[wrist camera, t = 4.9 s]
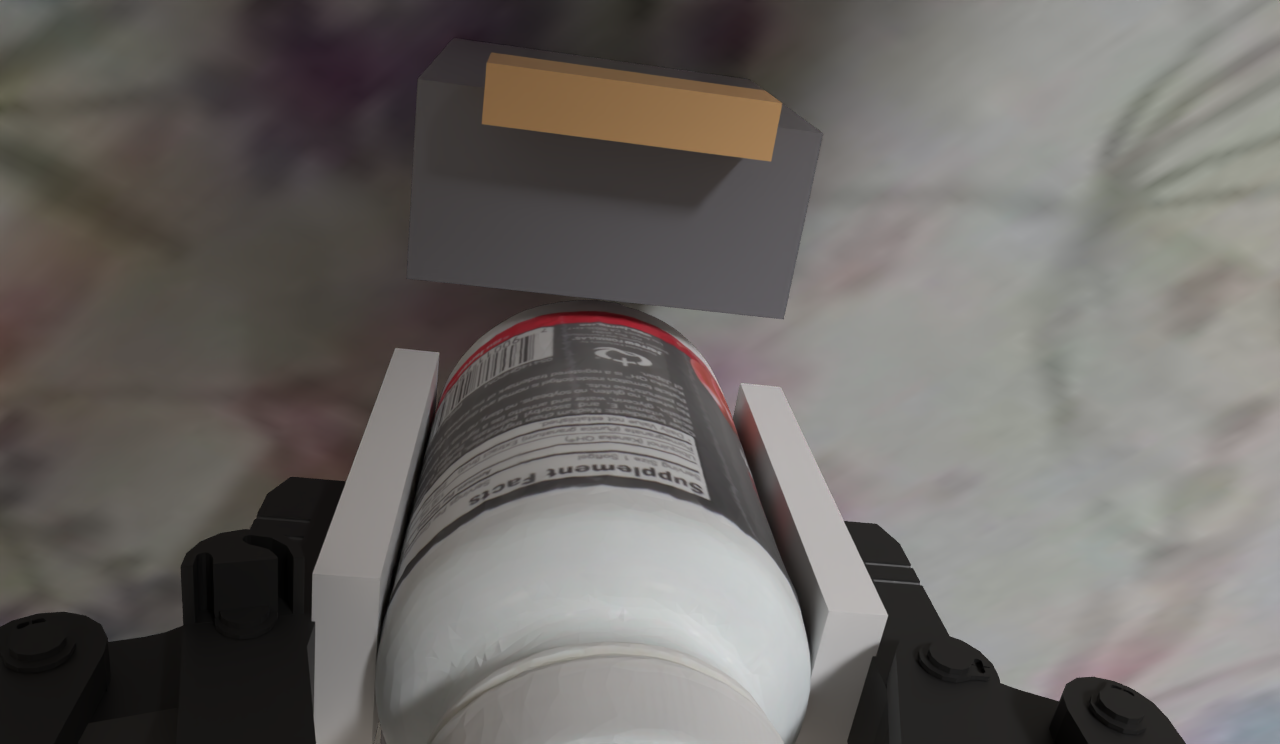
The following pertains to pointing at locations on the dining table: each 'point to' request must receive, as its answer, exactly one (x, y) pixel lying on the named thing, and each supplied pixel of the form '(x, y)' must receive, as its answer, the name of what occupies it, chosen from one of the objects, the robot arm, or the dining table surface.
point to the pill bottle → (588, 552)
